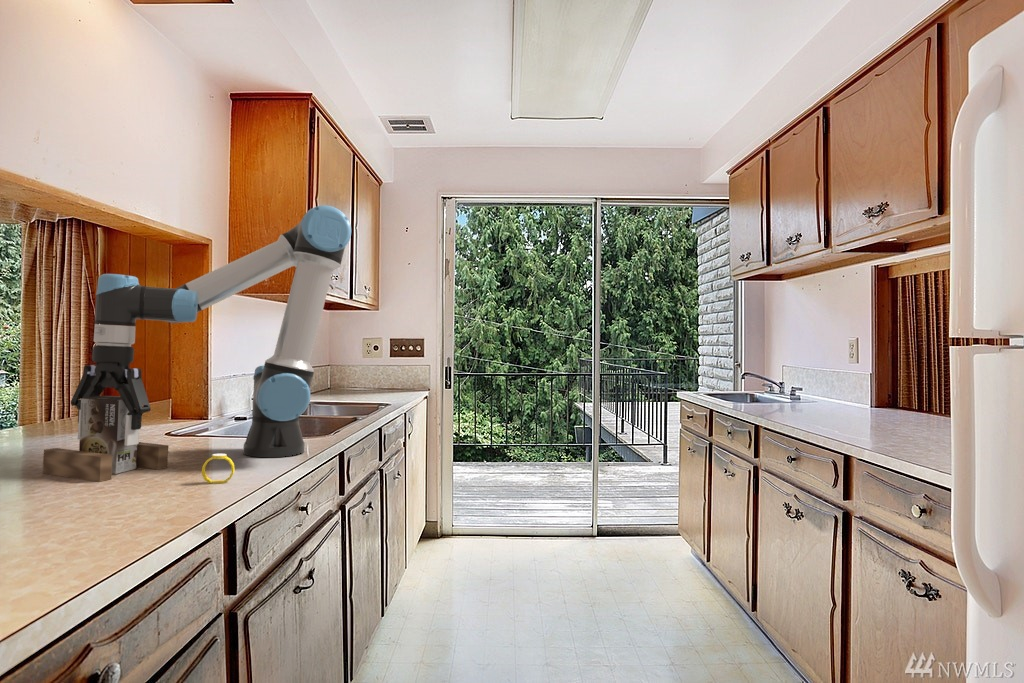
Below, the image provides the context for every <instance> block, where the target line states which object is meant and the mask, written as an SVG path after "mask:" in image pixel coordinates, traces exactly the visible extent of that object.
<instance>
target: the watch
mask: <svg viewBox="0 0 1024 683" xmlns="http://www.w3.org/2000/svg"><path fill="white" fill-rule="evenodd" d="M212 460H225V461H227V462H228V463H229V465H230V467H231V472H230V475H229V477H227V478H226V479H223V480H219V479H217V480H212V479H211V478H209V477H208V475H207V474H206V467H207V465H208V463H209V462H210V461H212ZM235 470H236V469H235V463H234V462H233V460H232V459H231V458H230V457H228V456H227V453H213V454H211V457H208V459H206V460H205V462H204V463H203V465H202V468H201V475H202V478H203V480H204V481H206V482H207V483H208V484H226V483H227V482H228V481H230V480H231V479H232V477H233V476H234V473H235Z"/></svg>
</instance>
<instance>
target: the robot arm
mask: <svg viewBox="0 0 1024 683" xmlns="http://www.w3.org/2000/svg"><path fill="white" fill-rule="evenodd" d="M351 236H352V225H351V222H350V221H349V218H348V217H347V215H346V214H345V213H344V212H343V211H341V210H340V209H338V208H336V207H335V206H332V205H327V204H326V205H325V204H324V205H317V206H315V207H312V208H310V209H309V210H307V211H306V212H305V214H304V215H303V217H302V218H301V220H300V221H299V223H297V224H295V226H294V227H293V228H291V229H290V230H288V231H286V232H284V233H281V234H280V235H279V237H278V239H277V240H275V241H274V242H272V243H270V244H267V245H266V246H264V247H261V248H259V249H257V250H255V251H253V252H250V253H249V254H246V255H244V256H241V257H239V258H237V259H235V260H234V261H231V262H229V263H226V264H225V265H222V266H220V267H219V268H217V269H214V270H213V271H210V272H207V273H205V274H204V275H201V276H199V277H197V278H195V279H193V280H191V281H188V282H186V283H184V284H182V285H179V286H177V287H176V288H170V287H169V288H168V287H156V286H146V285H145V286H144V285H140V283H139V278H138V277H136V276H135V275H134V276H133V275H126V274H120V273H119V274H118V273H103V274H101V275H99V277H98V279H97V287H96V293H95V306H94V307H95V309H94V330H93V331H94V332H93V342H94V343H96V345H94V346H92V353H91V354H92V355H91V361H92V362H93V363H96V364H89V365H87V364H85V365H84V366H83V372H82V376H81V379H80V380H79V383H78V385H77V387H76V390H75V392H74V393H73V397H72V398H71V401H70V405H71V406H73V407H74V406H75V407H76V409H77V410H78V412H77V423H78V426H77V440H80V415H81V398H89V397H94V396H101V394H102V393H103V391H104V390H105V389H106V388H109V389H111V388H112V389H114V390H115V391H117V392H118V394H119V396H121V398H122V400H123V402H124V403H125V405H126V407H127V409H128V411H129V413H128V414H127V415H126V429H125V445H126V446H128V445H135V444H139V442H140V441H139V440H140V430H142V429H141V428H142V419H143V418H142V417H143V415H144V414H145V413H149V412H151V404H150V402H149V397H148V394H147V392H146V389H145V386H144V383H143V379H142V369H141V368H137V367H136V368H131V367H130V364H132V363H133V362H134V356H135V348H134V347H133V346H132V345H134V344H135V343H136V322H137V320H147V321H148V320H149V321H161V322H166V323H169V324H170V323H171V324H178V323H194V322H196V320H197V318H198V313H200V312H201V311H203V310H205V309H208V308H210V307H212V306H215V304H218V303H220V302H221V301H224V300H226V299H228V298H230V297H232V296H234V295H237V294H239V293H240V292H243V291H245V290H246V289H248V288H250V287H253V286H255V285H257V284H259V283H261V282H263V281H265V280H267V279H270V278H271V277H273V276H275V275H277V274H279V273H281V272H284V271H285V270H288V269H290V268H292V267H295V271H294V275H293V277H292V278H293V279H292V283H291V286H290V290H289V291H290V292H289V294H288V299H287V302H286V307H285V310H284V313H283V318H282V321H281V326H280V330H279V334H278V337H277V341H276V345H275V350H274V354H273V355H272V356H270V357H268V358H267V359H266V360H265V362H264V365H259V366H257V367H255V370H254V374H253V377H252V378H253V394H252V395H253V399H252V415H251V425H250V428H249V431H248V433H247V436H246V439H245V442H244V443H243V450H242V453H243V455H246V456H248V457H255V458H256V457H257V458H286V457H292V455H293V456H297V455H296V454H298V455H301V454H304V452H305V442H304V438H303V433H302V430H301V427H300V416H301V415H302V414H304V413H305V411H306V410H307V409H308V407H309V405H310V402H311V399H312V398H311V386H312V380H313V376H314V372H315V370H314V368H313V367H312V365H311V359H312V356H313V355H312V354H313V351H314V347H315V343H316V340H317V334H318V331H319V327H320V322H321V319H322V316H323V311H324V307H325V303H326V299H327V296H328V291H329V287H330V282H331V278H332V276H333V272H334V271H336V270H338V268H340V267H341V264H342V261H343V257H344V252H345V249H346V247H347V245H348V244H349V242H350V241H351ZM300 453H301V454H300ZM285 456H286V457H285Z"/></svg>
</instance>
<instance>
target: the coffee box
mask: <svg viewBox="0 0 1024 683" xmlns="http://www.w3.org/2000/svg"><path fill="white" fill-rule="evenodd" d="M128 413H129V411H128V409H127V407H126V405H125V403H124V402H123V400H122V398H121V396H120V395H100V396H94V397H89V398H81V415H80V439H79V444H78V445H79V446H78V448H79V449H78V451H85V452H93V453H101V454H109V455H113V456H112V475H113V474H114V475H117V474H121V473H124V472H129V471H132V470H136V469H137V467H136V460H137V444H135V445H128V446H126V445H125V429H126V415H127V414H128Z"/></svg>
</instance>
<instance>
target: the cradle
mask: <svg viewBox="0 0 1024 683" xmlns="http://www.w3.org/2000/svg"><path fill="white" fill-rule="evenodd" d="M112 456H113V455H109V454H101V453H93V452H85V451H79V450H75V449H69V448H62V447H61V448H60V447H54V448H53V447H52V448H46V449H43V458H42V459H43V462H42V474H44V475H51V476H56V477H63V478H64V477H65V478H70V479H79V480H84V481H85V480H86V481H92V482H98V483H99V482H106V481H110V480H112V475H113V474H112ZM168 460H169V445H168V444H162V443H160V444H158V443H150V442H141V441H139V444H137V460H136V468H137V467H138V468H144V469H145V468H146V469H153V470H161V469H166V468H168V465H169V463H168V462H169V461H168Z"/></svg>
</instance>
